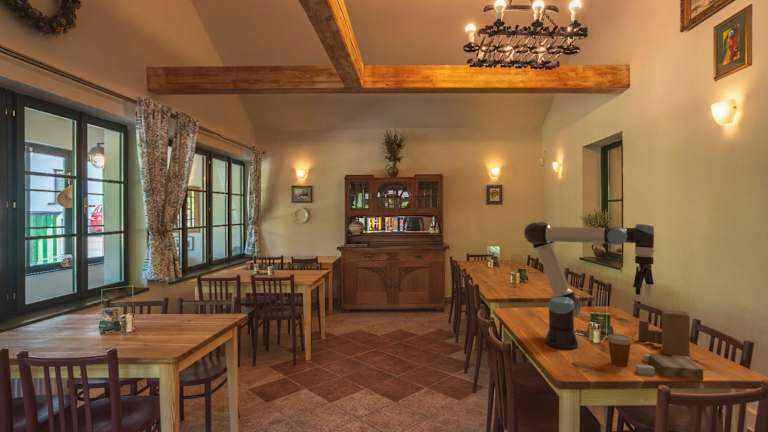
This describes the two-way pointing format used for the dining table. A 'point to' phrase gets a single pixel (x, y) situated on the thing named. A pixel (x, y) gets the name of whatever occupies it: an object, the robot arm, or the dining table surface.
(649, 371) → the brick bluegrey
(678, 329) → the wooden block
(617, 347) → the disposable coffee cup
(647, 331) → the wooden block set
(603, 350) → the dining table surface
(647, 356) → the brick sage
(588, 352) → the dining table surface
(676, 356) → the brick terracotta
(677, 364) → the walnut slab
